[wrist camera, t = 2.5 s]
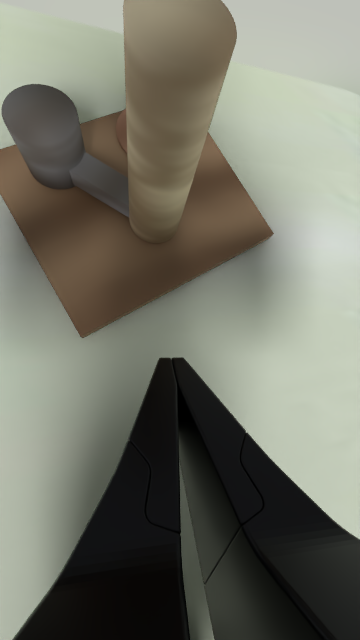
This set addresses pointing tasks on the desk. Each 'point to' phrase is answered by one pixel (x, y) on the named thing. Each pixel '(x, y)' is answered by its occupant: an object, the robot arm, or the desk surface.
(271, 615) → the robot arm
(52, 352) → the desk surface
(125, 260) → the brown board
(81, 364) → the desk surface
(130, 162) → the crank handle
